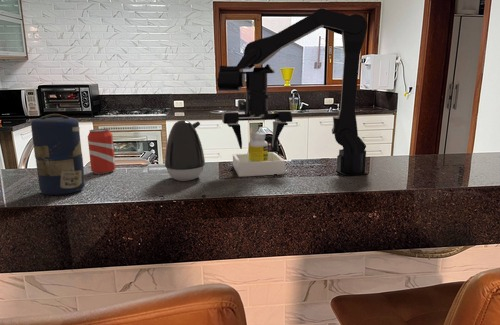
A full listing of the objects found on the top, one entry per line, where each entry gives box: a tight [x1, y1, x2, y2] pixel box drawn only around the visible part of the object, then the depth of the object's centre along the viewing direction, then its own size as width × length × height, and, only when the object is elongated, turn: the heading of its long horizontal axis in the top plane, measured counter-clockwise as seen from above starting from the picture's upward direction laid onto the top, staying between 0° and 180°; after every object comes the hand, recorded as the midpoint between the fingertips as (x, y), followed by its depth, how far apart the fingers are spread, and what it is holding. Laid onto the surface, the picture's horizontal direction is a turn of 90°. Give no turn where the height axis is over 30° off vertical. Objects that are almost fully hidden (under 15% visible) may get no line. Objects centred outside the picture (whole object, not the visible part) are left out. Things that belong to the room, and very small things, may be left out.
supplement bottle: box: [248, 132, 269, 162], centre depth 101 cm, size 5×5×10 cm
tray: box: [232, 151, 286, 177], centre depth 102 cm, size 13×13×4 cm
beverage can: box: [87, 128, 116, 175], centre depth 101 cm, size 6×6×12 cm
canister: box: [30, 113, 86, 196], centre depth 82 cm, size 10×10×18 cm
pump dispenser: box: [164, 119, 206, 182], centre depth 93 cm, size 10×10×15 cm
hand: (257, 147), depth 101 cm, fingers open, 9 cm apart
